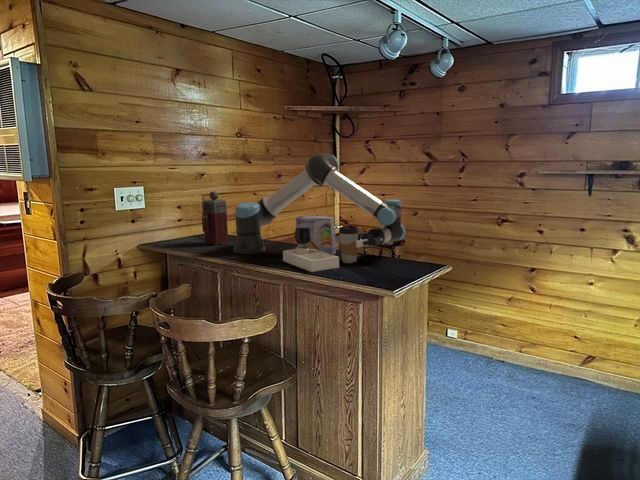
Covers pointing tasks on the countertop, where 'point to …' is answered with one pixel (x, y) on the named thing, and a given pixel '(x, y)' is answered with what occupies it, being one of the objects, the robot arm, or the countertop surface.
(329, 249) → the cake pan box
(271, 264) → the countertop surface
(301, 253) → the metal tin
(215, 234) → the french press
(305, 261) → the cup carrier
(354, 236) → the coffee cup
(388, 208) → the robot arm
